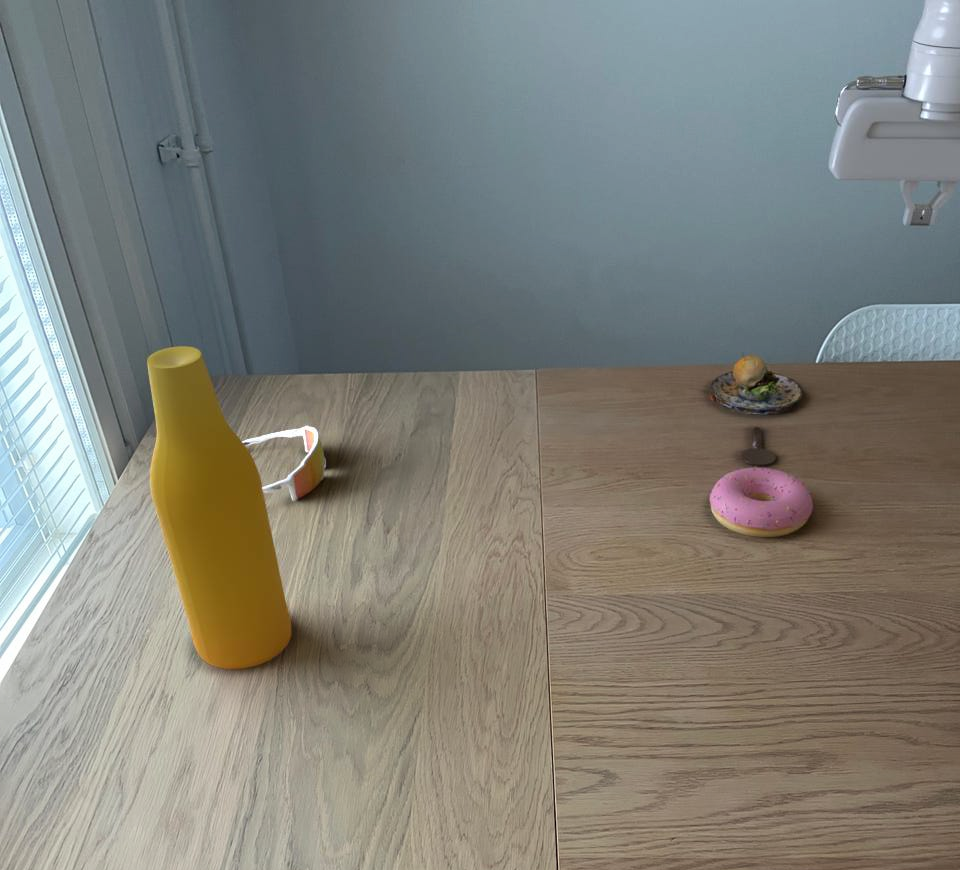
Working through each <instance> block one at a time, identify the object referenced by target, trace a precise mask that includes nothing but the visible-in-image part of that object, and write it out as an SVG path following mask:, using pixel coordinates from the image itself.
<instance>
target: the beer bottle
mask: <svg viewBox="0 0 960 870" xmlns="http://www.w3.org/2000/svg"><path fill="white" fill-rule="evenodd" d="M146 364H147V372H148V378H149V384H150V385H149V386H150V391H151V399H152V404H153V411H154V417H155V426H156V438H155V439H156V440H155V445H154V448H153V452H152V457H151V462H150V467H149V468H150V469H149V487H150V488H149V489H150V495H151V499H152V504H153V507H154V510H155V512H156V517H157V519H158V523H159V526H160V530H161V533H162V536H163V539H164V543H165V546H166V549H167V550H166V551H167V553H168V557H169V560H170V563H171V567H172V571H173V574H174V577H175V581H176V584H177V588H178V592H179V595H180V598H181V601H182V605H183V608H184V612H185V615H186V619H187V623H188V625H189V630H190V635H191V639H192V642H193V646H194V648H195V650H196V652H197V655H199V657H200V658H201V659H202V661H203V662H205V663H207V664H208V665H210V666H213V667H215V668H219V669H224V670H240V669H241V670H242V669H249V668H253V667H257V666H260V665H262V664H264V663H266V662H269V661H271V660H272V659H274V658H275V657H277V656H278V655H280V654H281V653H282V652H283V651H284V649H285V648H286V647H288V644H289V643H290V640H291V637H292V620H291V616H290V612H289V609H288V604H287V600H286V596H285V592H284V587H283V586H284V585H283V582H282V577H281V572H280V567H279V562H278V557H277V552H276V548H275V543H274V538H273V533H272V529H271V524H270V519H269V514H268V510H267V509H268V508H267V504H266V499H265V495H264V494H265V493H263V489H262V487H263V483H262V479H261V475H260V472H259V469H258V467H257V465H256V462H255V459H254V458H253V456H252V453H251V452H250V451H249V449H248V448H247V446H245V445H244V444H243V441H242V440H241V438H240V437H239V436H238V434H236V432H235V431H234V430H233V429H232V427H231V426H230V425H229V423H228V422H227V420H226V418H225V416H224V414H223V410H222V408H221V406H220V402H219V400H218V396H217V393H216V391H215V388H214V386H213V382H212V380H211V377H210V373H209V371H208V368H207V365H206V363H205V359H204V357H203V354H202V352H201V350H200V349H199V348H196V347H194V346H184V345H181V346H180V345H179V346H172V347H167V348H163V349H160V350H157V351H155V352H153V353H152V354H151V355H149V356H148V357H147V359H146Z"/></svg>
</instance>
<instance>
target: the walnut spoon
mask: <svg viewBox="0 0 960 870" xmlns="http://www.w3.org/2000/svg"><path fill="white" fill-rule="evenodd" d="M751 446H752V447H751V448H747V449H745V450H743V451H742V452H741V454H740V460H741V461H742V462H743V464H746V465H747V466H750V467H755V466H756V468H767V467H769V466H772V465H774V464H775V462H776V458H777V457H776V455H775V453H774V452H773V451H772V450H771V451H770V450H769V449H765V448H763V432H762V429H761V427H758V426H755V427H753V428H752V429H751Z"/></svg>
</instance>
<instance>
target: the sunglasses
mask: <svg viewBox="0 0 960 870" xmlns="http://www.w3.org/2000/svg"><path fill="white" fill-rule="evenodd" d="M295 437H296V438H297V437H302V438H303V443H304V451H305V452H306V453H307V455H305V457H304V458H303V460H302V461H300V464H299V466H298V467H296V468H295V469H294V470H293V471H291V472H290V473H289V474H288V476H287V478H284V479H282V480H279V481H276V482H273V483H271V484H268V485H265V486H262V489H263V494H269V493H270V494H271V493H278V492H280V491H281V490H285V489H289V494H290V497H291V501H293V502H295V501H298V500H299V499H301V498H302V497H304V496H306V495H307V494H309V493H310V492H312V491H313V490H314V489H315V488H316V487H318V485H319V484H320V483H321V481H323V480H324V476H325V470H326V467H327V459H326V457H325V454H324V448H323V445H322V441H321V439H320V433H319V431H318V430H317V428H315V427H314V426H313V427H312V426H311V425H310V426H309V425H304V426H302V427H299V428H291V429H286V430H282V431H276V432H272V433H267V434H264V435H260V436H256V437H252V438H248V439H245V440H243V441H242V442H243V444H244V445H245V446H246V447H247V446H248V447H249V446H251V445H254V444H260V443H263V442H264V441H268V440H271V439H276V438H290V439H292V438H295Z"/></svg>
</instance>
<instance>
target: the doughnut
mask: <svg viewBox="0 0 960 870" xmlns="http://www.w3.org/2000/svg"><path fill="white" fill-rule="evenodd" d="M709 493H710V494H709V504H710V509H711V512H712V515H713V516H714V518H715V519H716V520H717V521H718V523H720V524H721V525H722V526H723V527H725V528H727V529H729V530H730V531H733V532H735V533H738V534H741V535H745V536H748V537H756V538H776V537H783V536H786V535H789V534H792V533H794V532H796V531H799V530H800V529H801V528H802V527H803V526H804V525H805V524H806V523H807V522H808V520H809V518H810V516H811V515H812V512H813V510H814V504H813V498H812V495H811V494H813V491H810V490H809V488H808V485H807V484H805V483H804V482H802V480H800V479H798V478H797V476H794V475H791V474H790V473H787V472H785V471H783V470H779V469H775V468H770V467H756V466H750V467H745V468H738V469H737V470H733V471H732V470H730V471H727V474H725V475H723V476H720V477H719V479H718V480H717V482H716V483H715V485H714V487H713V488H712V490H711V491H709Z"/></svg>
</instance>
